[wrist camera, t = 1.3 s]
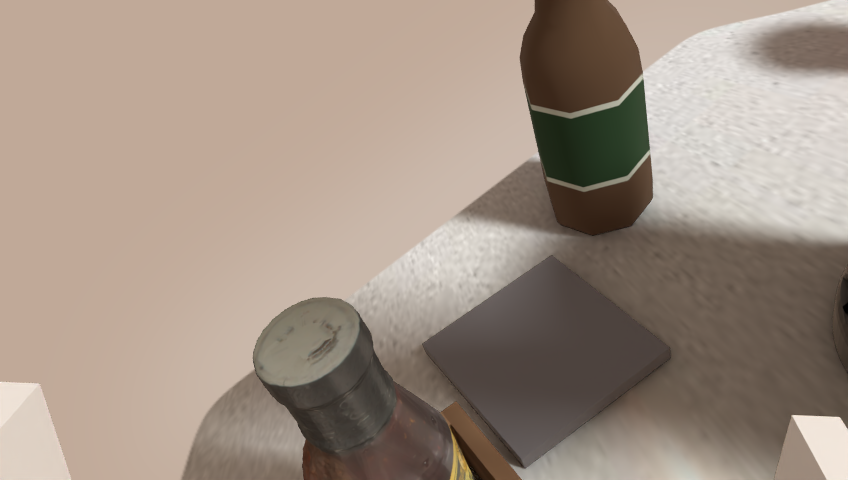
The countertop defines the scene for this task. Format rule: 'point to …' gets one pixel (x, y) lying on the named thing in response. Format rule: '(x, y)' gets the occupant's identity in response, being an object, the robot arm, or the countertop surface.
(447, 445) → the sauce bottle
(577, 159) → the beer bottle
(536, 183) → the countertop surface
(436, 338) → the rubber mat
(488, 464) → the collar
